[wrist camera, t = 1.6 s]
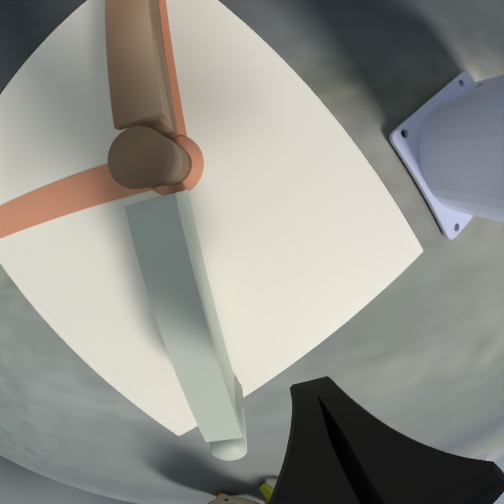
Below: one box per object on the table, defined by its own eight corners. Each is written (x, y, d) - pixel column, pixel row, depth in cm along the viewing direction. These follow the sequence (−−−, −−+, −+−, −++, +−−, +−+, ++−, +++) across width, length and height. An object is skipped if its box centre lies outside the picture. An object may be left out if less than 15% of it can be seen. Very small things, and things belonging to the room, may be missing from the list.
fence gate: (194, 188, 14) (175, 193, 9) (244, 397, 17) (250, 457, 12) (159, 196, 14) (124, 205, 9) (217, 401, 17) (215, 462, 12)
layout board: (153, -43, 11) (151, -47, 10) (420, 249, 17) (424, 251, 16) (-45, 179, 13) (-49, 179, 13) (179, 432, 19) (178, 436, 18)
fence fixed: (161, -40, 11) (142, -98, 5) (195, 179, 15) (173, 180, 9) (130, -31, 11) (103, -85, 5) (157, 188, 14) (113, 196, 9)
